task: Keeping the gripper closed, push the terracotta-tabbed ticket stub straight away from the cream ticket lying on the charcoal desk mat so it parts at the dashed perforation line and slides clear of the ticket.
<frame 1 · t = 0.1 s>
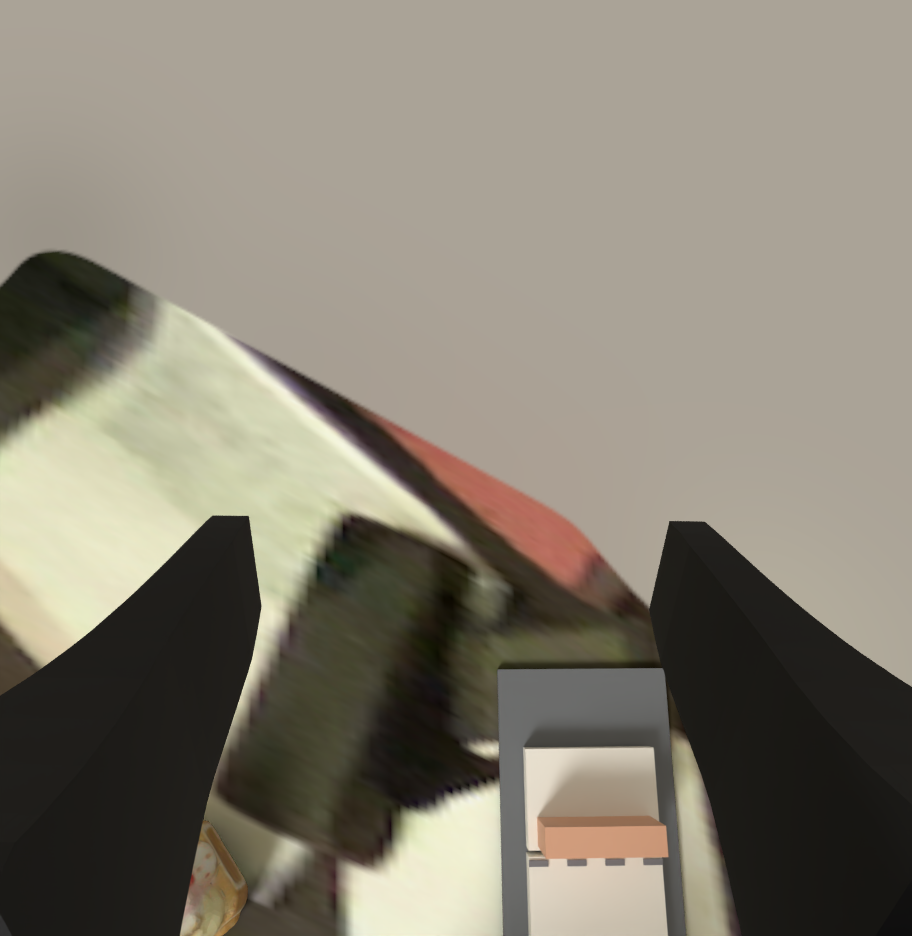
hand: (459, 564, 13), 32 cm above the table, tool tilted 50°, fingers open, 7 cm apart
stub: (596, 800, 39), point 3 cm above the table, slide at 0.0 cm
mat: (588, 839, 41), on the table
ornament: (179, 895, 40), on the table
ticket: (593, 932, 40), resting on mat
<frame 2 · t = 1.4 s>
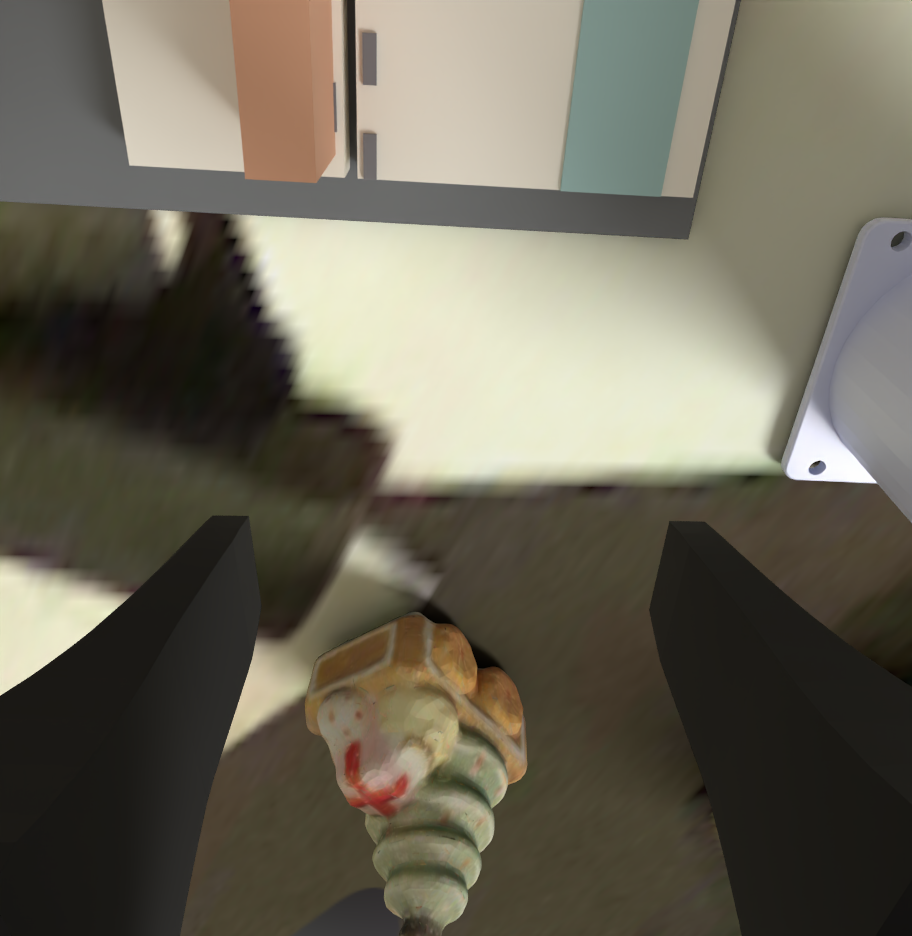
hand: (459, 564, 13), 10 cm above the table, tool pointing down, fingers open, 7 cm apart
mat: (340, 1, 17), on the table
ornament: (420, 669, 29), on the table
ticket: (536, 14, 17), resting on mat
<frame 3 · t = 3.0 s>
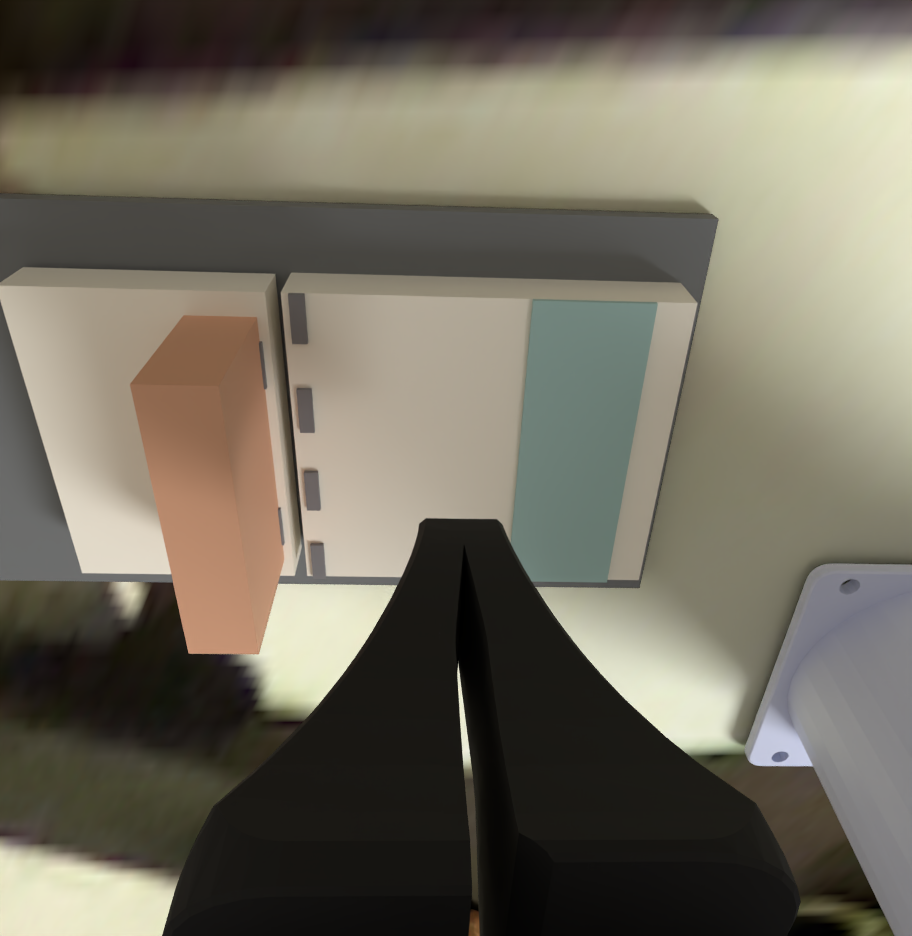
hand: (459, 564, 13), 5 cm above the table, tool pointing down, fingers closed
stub: (148, 472, 15), point 3 cm above the table, slide at 0.0 cm
mat: (284, 414, 18), on the table
ticket: (478, 418, 18), resting on mat
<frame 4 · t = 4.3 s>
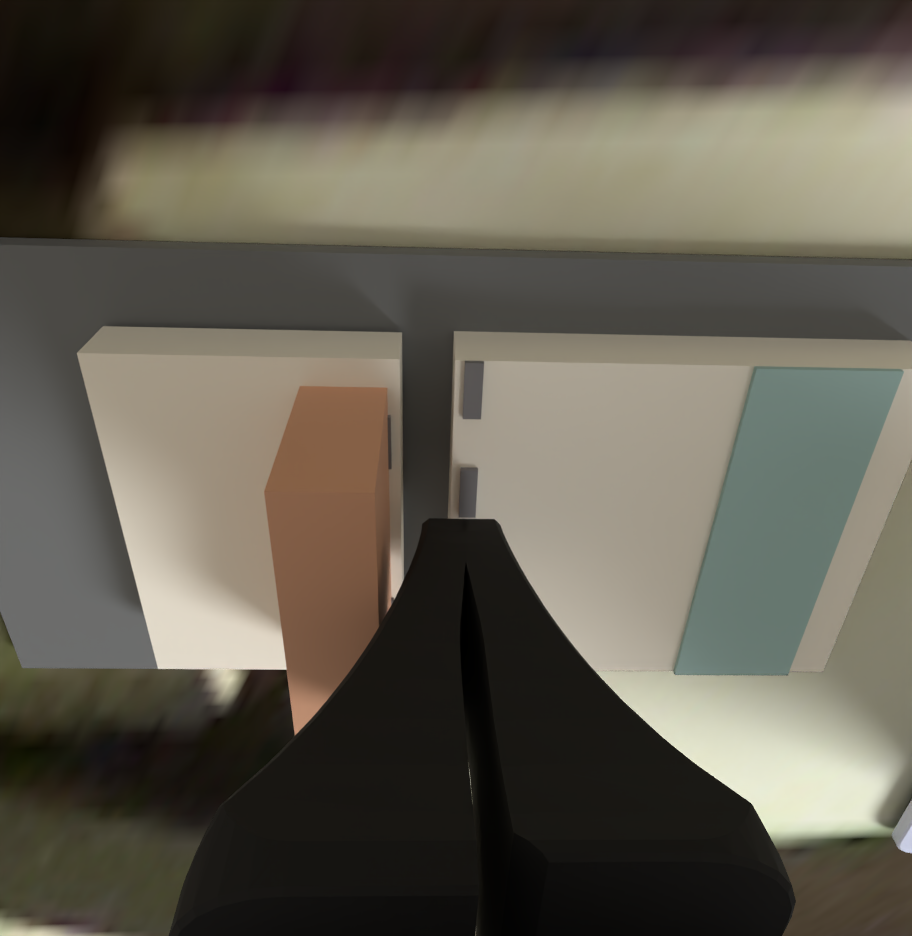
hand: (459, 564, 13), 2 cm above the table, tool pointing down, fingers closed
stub: (252, 568, 13), point 3 cm above the table, slide at 0.6 cm, touching gripper
mat: (423, 487, 15), on the table
ticket: (645, 490, 15), resting on mat
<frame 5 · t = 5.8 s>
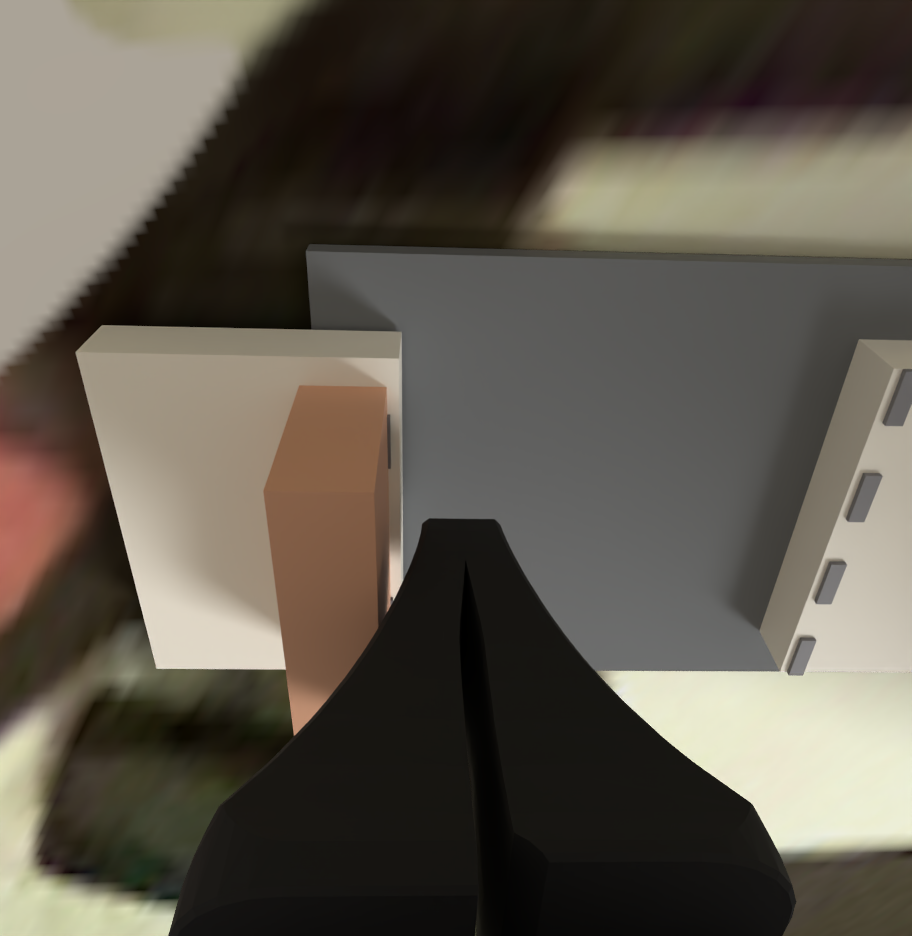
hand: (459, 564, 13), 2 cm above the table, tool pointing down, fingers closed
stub: (251, 568, 13), point 3 cm above the table, slide at 7.7 cm, touching gripper
mat: (770, 491, 15), on the table
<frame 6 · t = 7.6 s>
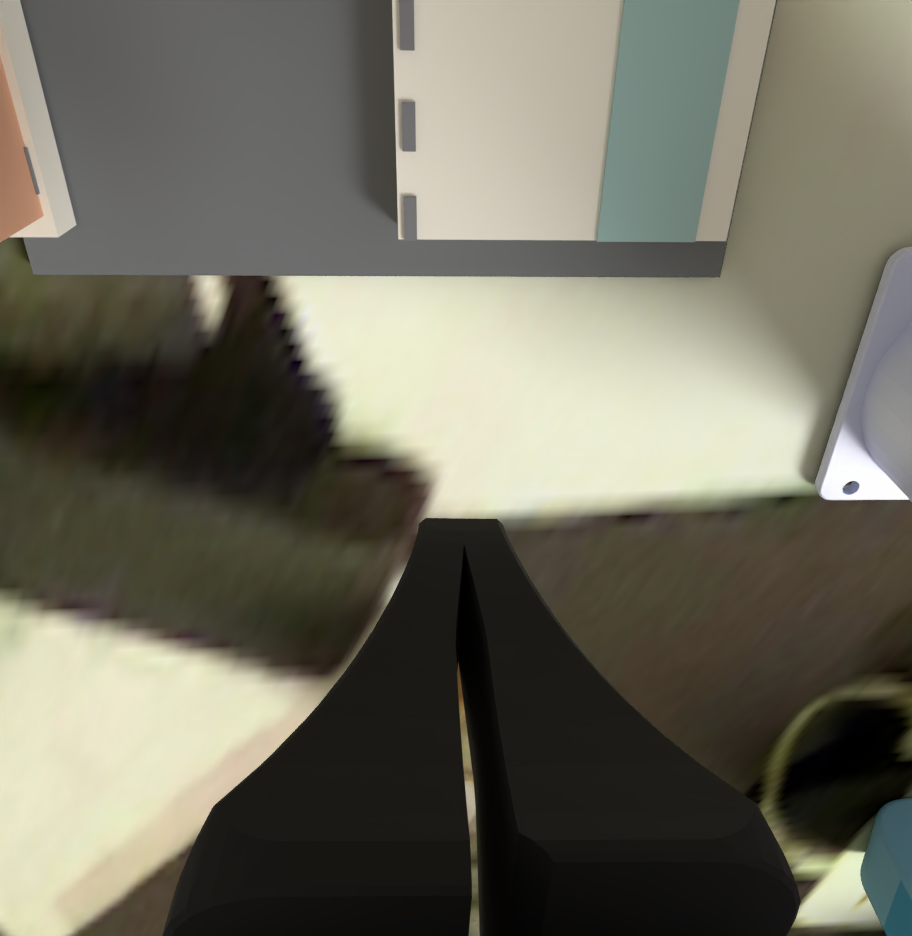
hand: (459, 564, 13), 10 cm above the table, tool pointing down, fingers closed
mat: (375, 69, 18), on the table
ornament: (463, 697, 30), on the table
ticket: (566, 71, 18), resting on mat
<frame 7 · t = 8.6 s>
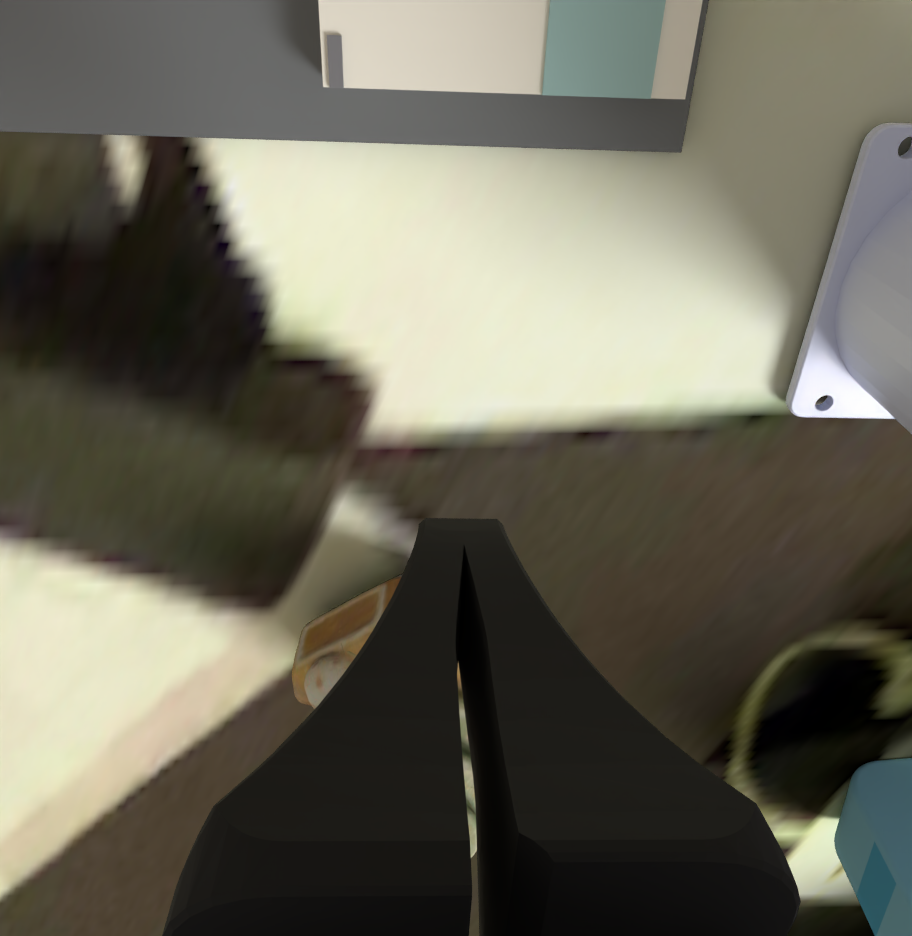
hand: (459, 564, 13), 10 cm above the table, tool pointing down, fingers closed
ornament: (414, 636, 28), on the table
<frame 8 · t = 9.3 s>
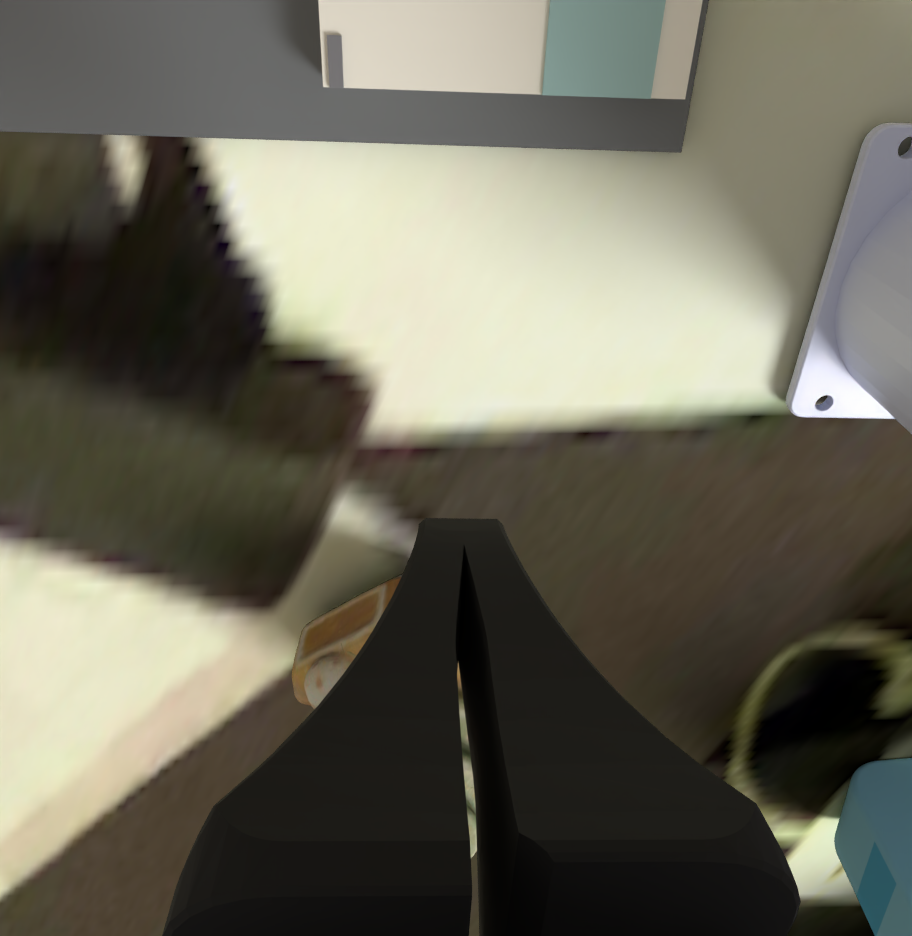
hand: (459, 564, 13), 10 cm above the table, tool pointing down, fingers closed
ornament: (414, 636, 28), on the table
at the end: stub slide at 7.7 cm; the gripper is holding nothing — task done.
